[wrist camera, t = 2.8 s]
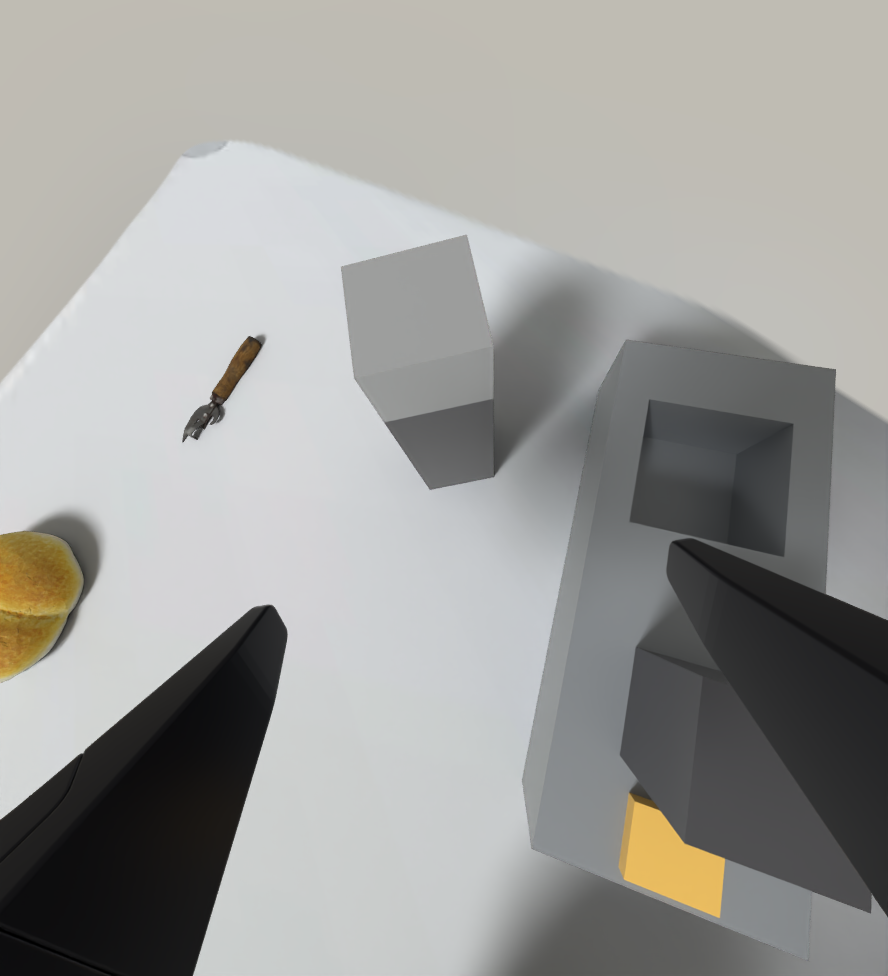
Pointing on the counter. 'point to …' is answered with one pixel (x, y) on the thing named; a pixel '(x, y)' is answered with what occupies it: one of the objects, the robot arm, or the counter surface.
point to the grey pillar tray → (685, 646)
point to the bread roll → (34, 597)
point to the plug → (426, 357)
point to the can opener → (224, 386)
